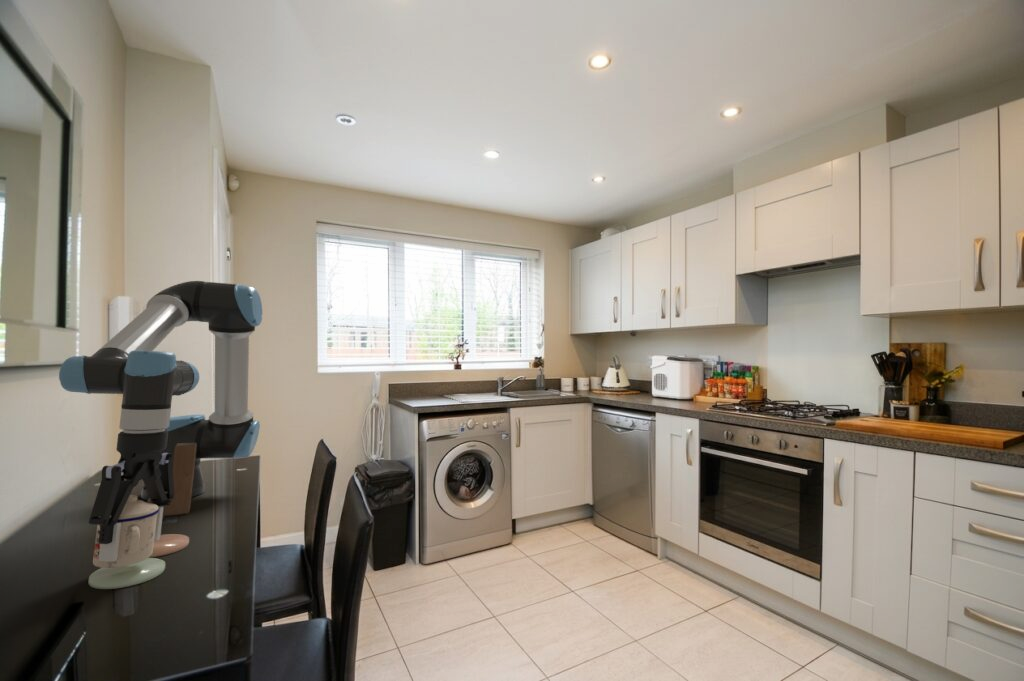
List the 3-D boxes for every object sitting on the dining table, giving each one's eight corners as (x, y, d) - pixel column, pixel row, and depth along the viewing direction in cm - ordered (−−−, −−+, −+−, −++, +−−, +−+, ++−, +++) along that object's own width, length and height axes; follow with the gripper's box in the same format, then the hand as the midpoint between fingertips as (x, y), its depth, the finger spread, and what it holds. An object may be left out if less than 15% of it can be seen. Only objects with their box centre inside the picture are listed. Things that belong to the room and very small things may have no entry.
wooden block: (145, 518, 112) (152, 446, 113) (147, 513, 116) (155, 443, 117) (188, 514, 117) (195, 445, 118) (190, 509, 121) (197, 442, 122)
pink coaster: (153, 536, 102) (153, 532, 102) (200, 539, 102) (201, 535, 102) (109, 556, 91) (110, 552, 91) (162, 559, 91) (163, 555, 91)
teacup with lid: (87, 558, 83) (94, 495, 84) (148, 545, 90) (154, 487, 91) (97, 579, 76) (106, 510, 77) (163, 564, 83) (170, 500, 84)
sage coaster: (124, 560, 89) (125, 556, 89) (178, 563, 89) (179, 559, 89) (70, 587, 78) (71, 582, 78) (132, 590, 78) (132, 586, 78)
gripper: (168, 422, 97) (157, 527, 95) (68, 437, 75) (52, 574, 73) (202, 424, 97) (192, 529, 95) (112, 440, 75) (97, 577, 73)
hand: (131, 549), depth 84 cm, fingers closed on teacup with lid, 9 cm apart
